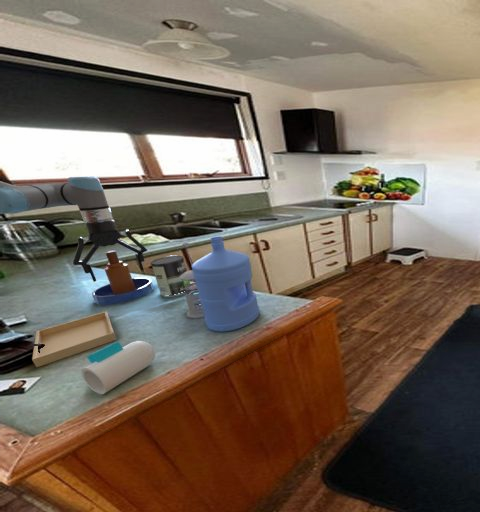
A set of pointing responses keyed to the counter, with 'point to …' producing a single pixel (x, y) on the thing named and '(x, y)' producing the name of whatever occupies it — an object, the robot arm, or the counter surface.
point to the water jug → (225, 288)
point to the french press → (194, 307)
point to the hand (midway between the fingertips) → (119, 274)
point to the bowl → (107, 296)
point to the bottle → (118, 274)
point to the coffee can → (170, 275)
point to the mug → (116, 364)
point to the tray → (72, 338)
